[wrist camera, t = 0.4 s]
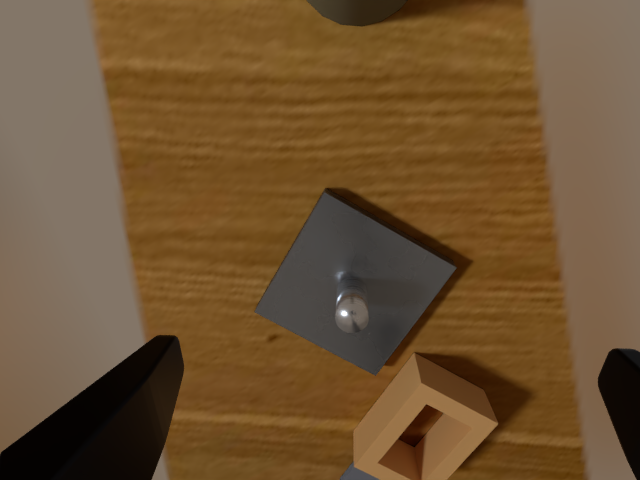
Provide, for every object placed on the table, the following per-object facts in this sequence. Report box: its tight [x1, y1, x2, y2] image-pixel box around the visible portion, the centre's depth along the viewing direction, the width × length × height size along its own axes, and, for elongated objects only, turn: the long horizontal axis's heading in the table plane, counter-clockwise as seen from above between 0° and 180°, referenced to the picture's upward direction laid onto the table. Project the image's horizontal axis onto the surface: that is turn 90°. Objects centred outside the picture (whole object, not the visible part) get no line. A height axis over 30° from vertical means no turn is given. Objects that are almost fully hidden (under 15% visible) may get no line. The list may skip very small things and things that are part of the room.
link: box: [354, 353, 498, 480], centre depth 26 cm, size 7×5×3 cm
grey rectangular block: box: [340, 461, 380, 480], centre depth 29 cm, size 4×2×1 cm, turn 151°
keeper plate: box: [255, 188, 457, 376], centre depth 23 cm, size 8×8×4 cm
